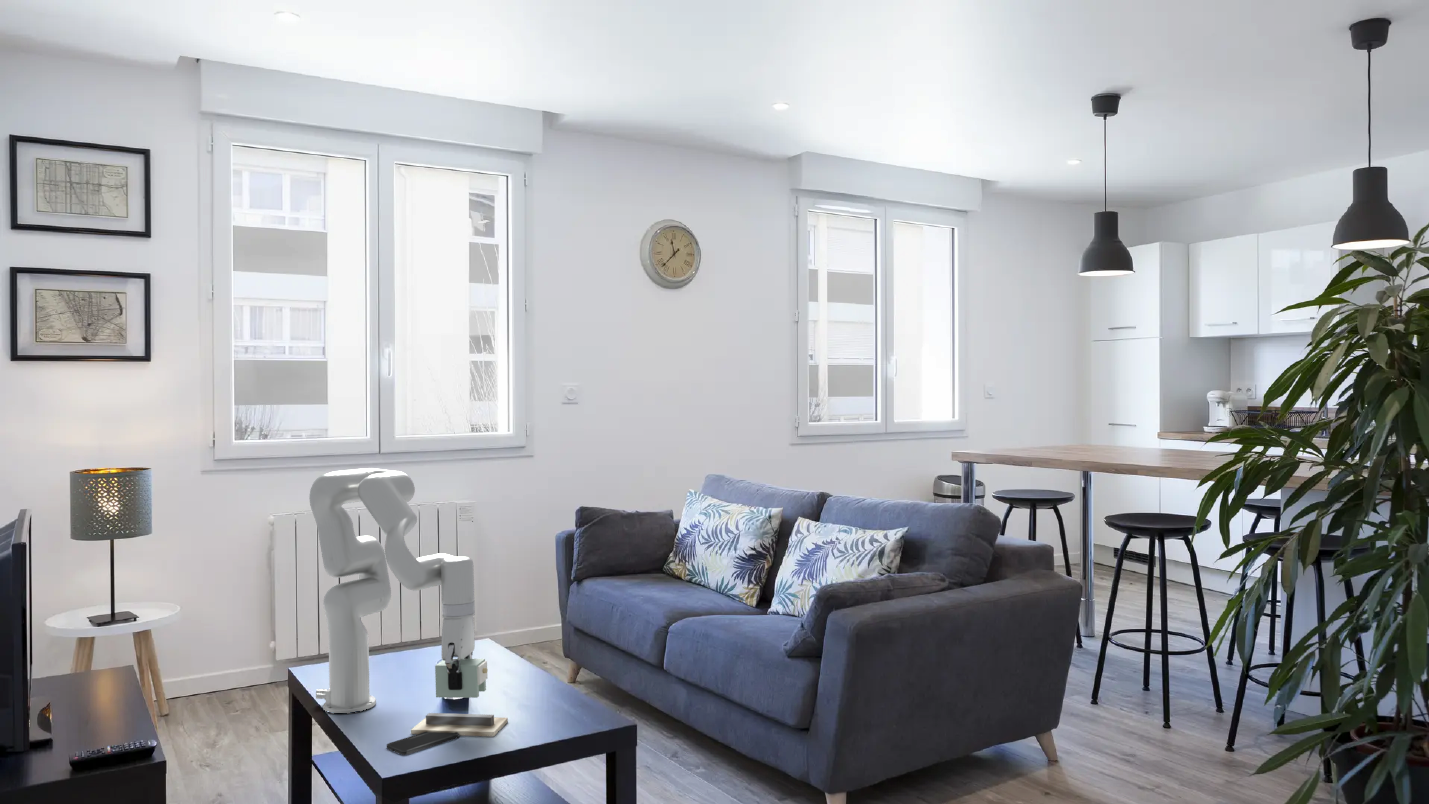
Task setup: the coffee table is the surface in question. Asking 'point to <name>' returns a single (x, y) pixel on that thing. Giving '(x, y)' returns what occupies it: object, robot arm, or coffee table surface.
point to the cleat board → (461, 728)
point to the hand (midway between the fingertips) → (460, 684)
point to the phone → (421, 742)
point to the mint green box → (471, 679)
